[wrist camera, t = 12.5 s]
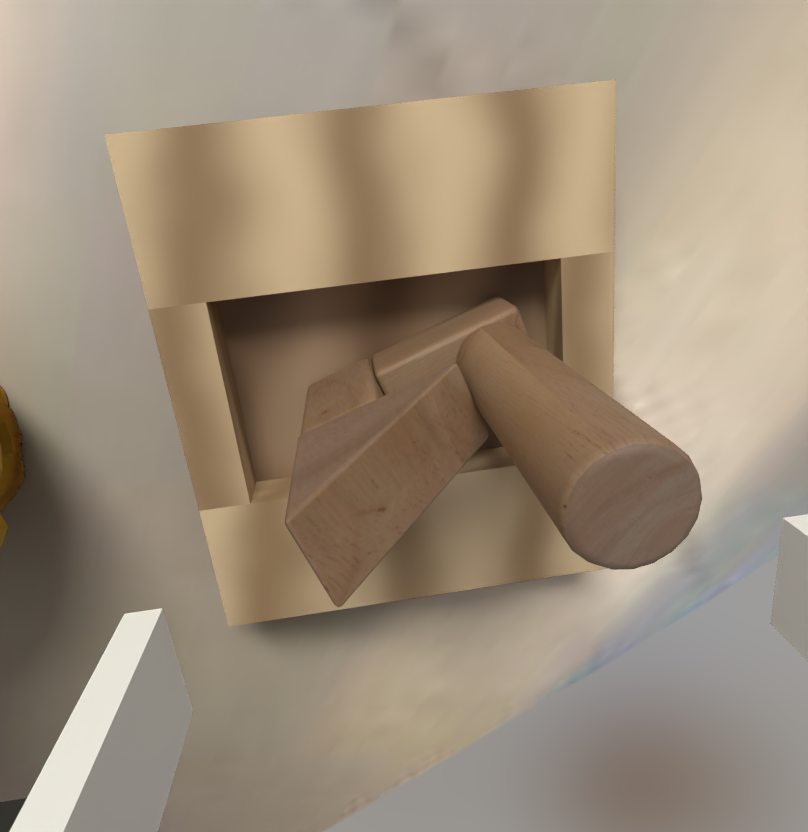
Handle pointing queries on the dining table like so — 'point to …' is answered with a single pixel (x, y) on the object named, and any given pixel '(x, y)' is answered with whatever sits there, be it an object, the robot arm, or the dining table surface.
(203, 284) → the wooden tray
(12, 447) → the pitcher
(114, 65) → the dining table surface
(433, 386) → the wooden block
